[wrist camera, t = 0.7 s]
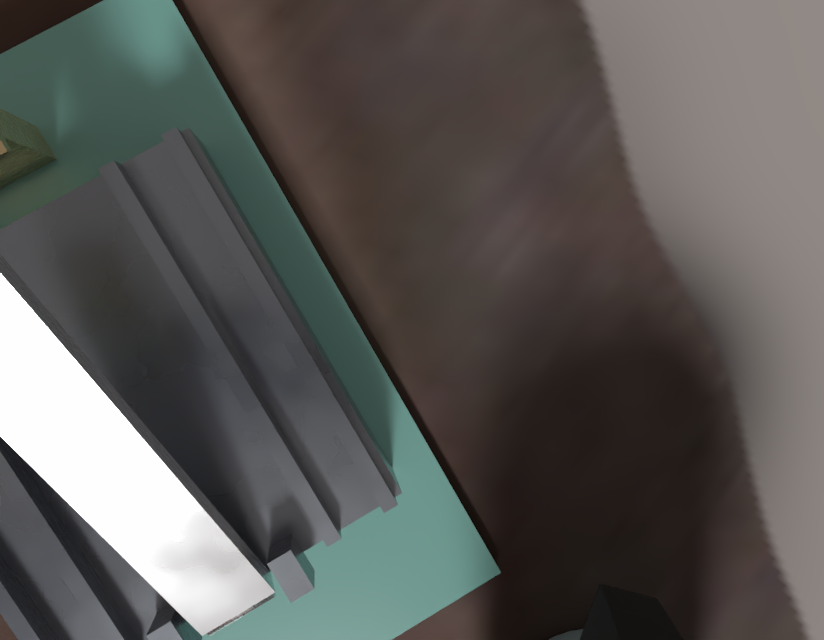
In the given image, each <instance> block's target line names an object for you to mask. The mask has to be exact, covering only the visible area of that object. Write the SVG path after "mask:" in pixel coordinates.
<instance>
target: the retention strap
mask: <svg viewBox="0 0 824 640" xmlns="http://www.w3.org/2000/svg"><path fill="white" fill-rule="evenodd" d="M0 436H1V437H2V438H3V439H4V440H5V441H6V442H7V443H8V444H9V445H10V446H11V447H12V448H13V449H14V450H15V451H16V452H17V453H18V454H19V455H20V456H21V457H22V458H23V459H24V460H25V461H26V462H27V463H28V464H29V465H30V466H31V467H32V468H33V469H34V470H35V471H36V472H37V473H38V474H39V475H40V476H41V477H42V478H43V479H44V480H45V481H46V482H47V483H48V484H49V485H50V486H51V487H52V488H53V489H54V490H55V491H56V492H57V493H58V494H59V495H60V496H61V497H62V498H64V499H65V500H66V501H67V502H68V503H69V504H70V505H71V506H72V507H73V508H74V509H75V510H76V511H77V512H78V513H79V514H80V515H81V516H82V517H83V518H84V519H85V520H86V521H87V522H88V523H89V524H90V525H91V526H92V527H93V528H94V529H95V530H96V531H97V532H98V533H99V534H100V535H101V536H102V537H103V538H104V539H105V540H106V541H107V542H108V543H109V544H110V545H111V546H112V547H113V548H114V549H115V550H116V551H117V552H118V553H119V554H120V555H121V556H122V557H123V558H124V559H125V560H126V561H127V562H128V563H129V564H130V565H131V566H132V567H133V568H134V569H135V570H136V571H137V572H138V573H139V574H140V575H141V576H142V577H143V578H144V579H145V580H146V581H147V582H148V583H149V584H150V585H151V586H152V587H153V588H154V589H155V590H156V591H157V592H158V593H159V594H160V595H161V596H162V597H163V598H164V599H165V600H166V601H167V602H168V603H169V604H170V605H171V606H172V607H173V608H174V609H175V610H176V611H177V612H178V613H179V614H180V615H181V616H182V617H183V618H184V619H185V620H186V621H187V622H188V623H189V624H190V625H191V626H192V627H193V628H194V629H195V630H197V631H198V632H199V633H200V634H201V635H202V636H203V635H205V634H206V633H207V634H208V635H210V636H211V635H213V634H214V633H216V632H218V631H219V630H221V629H223V628H224V627H226V626H228V625H229V624H231V623H233V622H234V621H236V620H238V619H239V618H241V617H243V616H244V615H246V614H248V613H249V612H251V611H253V610H254V609H256V608H258V607H259V606H261V605H263V604H264V603H266V602H268V601H269V600H271V599H273V598H274V597H275V589H274V585H273V580H272V576H271V573H270V572H269V571H268V569H267V568H266V567H265V566H264V565H263V563H262V562H261V561H260V560H259V559H258V558H257V556H256V555H255V554H254V553H253V552H252V550H251V549H250V548H249V547H248V546H247V545H246V543H245V542H244V541H243V540H242V539H241V537H240V536H239V535H238V534H237V533H236V532H235V530H234V529H233V528H232V527H231V526H230V525H229V523H228V522H227V521H226V520H225V519H224V517H223V516H222V515H221V514H220V513H219V512H218V510H217V509H216V508H215V507H214V506H213V504H212V503H211V502H210V501H209V500H208V499H207V497H206V496H205V495H204V494H203V493H202V491H201V490H200V489H199V488H198V487H197V486H196V484H195V483H194V482H193V481H192V480H191V478H190V477H189V476H188V475H187V474H186V473H185V471H184V470H183V469H182V468H181V467H180V465H179V464H178V463H177V462H176V461H175V460H174V458H173V457H172V456H171V455H170V454H169V452H168V451H167V450H166V449H165V448H164V447H163V445H162V444H161V443H160V442H159V441H158V439H157V438H156V437H155V436H154V435H153V434H152V432H151V431H150V430H149V429H148V428H147V426H146V425H145V424H144V423H143V422H142V421H141V419H140V418H139V417H138V416H137V415H136V413H135V412H134V411H133V410H132V409H131V408H130V406H129V405H128V404H127V403H126V402H125V400H124V399H123V398H122V397H121V396H120V395H119V393H118V392H117V391H116V390H115V389H114V387H113V386H112V385H111V384H110V383H109V382H108V380H107V379H106V378H105V377H104V376H103V374H102V373H101V372H100V371H99V370H98V369H97V367H96V366H95V365H94V364H93V363H92V362H91V360H90V359H89V358H88V357H87V356H86V354H85V353H84V352H83V351H82V350H81V349H80V347H79V346H78V345H77V344H76V343H75V341H74V340H73V339H72V338H71V337H70V336H69V334H68V333H67V332H66V331H65V330H64V328H63V327H62V326H61V325H60V324H59V323H58V321H57V320H56V319H55V318H54V317H53V315H52V314H51V313H50V312H49V311H48V310H47V308H46V307H45V306H44V305H43V304H42V302H41V301H40V300H39V299H38V298H37V297H36V295H35V294H34V293H33V292H32V291H31V289H30V288H29V287H28V286H27V285H26V284H25V282H24V281H23V280H22V279H21V278H20V276H19V275H18V274H17V273H16V272H15V271H14V269H13V268H12V267H11V266H10V265H9V263H8V262H7V261H6V260H5V259H4V258H3V256H2V255H1V254H0Z"/></svg>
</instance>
